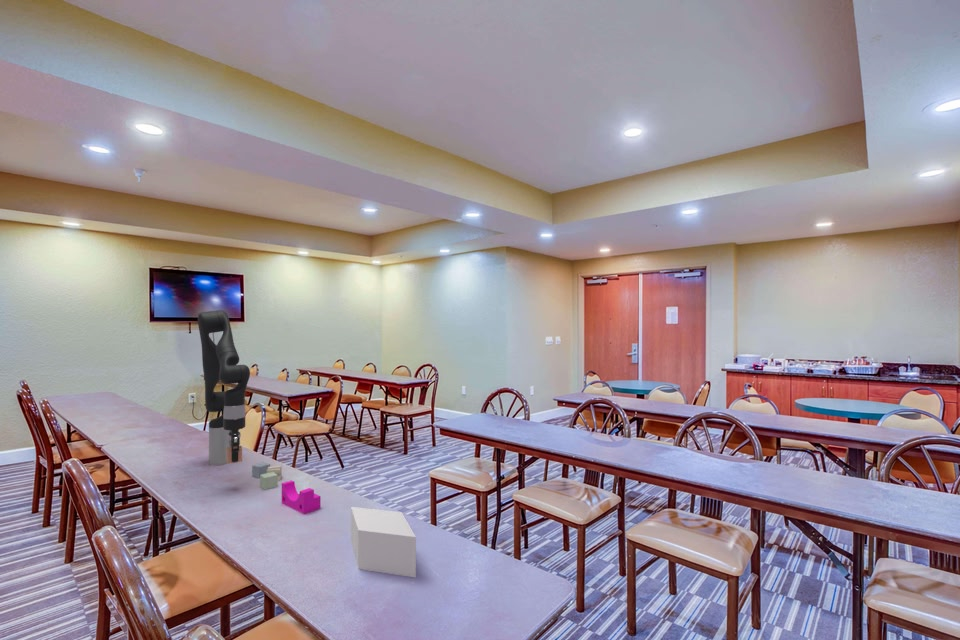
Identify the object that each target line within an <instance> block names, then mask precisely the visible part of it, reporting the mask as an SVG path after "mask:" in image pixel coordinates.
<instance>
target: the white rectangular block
mask: <svg viewBox="0 0 960 640" xmlns="http://www.w3.org/2000/svg"><path fill="white" fill-rule="evenodd" d="M350 543H351V547H352V550H353V554H354V557H355V561H356V562H355V563H356V566H357V569H358V570H363V571H364V570H365V571H371V572H376V573H381V574H382V573H384V574H390V575H396V576H402V577H403V576H404V577H410V578H417V536H416V535H415V532H413V530H412V528H411V526H410V524H409V523H408V521H407V519H406V518H405V516H404V514H403V512H401V511H394V510H382V509H377V508H375V509H373V508H365V507H355V506H351V507H350Z"/></svg>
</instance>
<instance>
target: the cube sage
mask: <svg viewBox="0 0 960 640" xmlns="http://www.w3.org/2000/svg"><path fill="white" fill-rule="evenodd" d="M278 482H279V481H278V475H277V474H275V473H274V472H271V473H266V474H262V475H260V478H259V487H260V488H261V489H262V490H263V491H266V490H271V489H274V488H275V489H276V488H278V486H279V485H278Z"/></svg>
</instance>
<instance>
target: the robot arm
mask: <svg viewBox="0 0 960 640" xmlns="http://www.w3.org/2000/svg"><path fill="white" fill-rule="evenodd" d="M229 318H230V317H229V315H228V313H227V311H225V310H223V309H222V310H210V311H209V310H208V311H203V312H199V314H198V315H197V324H198V331H199V337H200V343H201V355H202V356H201V358H202V359H201V361H202V369H203V370H202V371H203V378H204V403H205V410H206V411H207V412H208V413H209V412H210V413H218V412H219V413H220V412H223V414H222V415H220V416H218V417H216V418H213V419H211V420H209V422H208V465H209V466H212V467H215V466H216V467H217V466H224V465H228V464H227V447H231V453H232V462H236V463H238V462H237V461H238V452H239V446H241V431H239V430H242V429H245V428H246V404H245V403H246V402H245V401H246V399H245V398H246V390H247V388H248V387H247V386H248V382H249V379H250V376H251V371H250V368H249V366H247V365H246V364H239V362H240V356H239V353H238V350H237V349H236V347H235V342H234V338H233V337H234V336H233V331H232V327H231V322H230V319H229ZM221 332H222V335H221V337H220V339H219V340H218V342H217V344H216V343H215V342H214V341H213V340H212V339H211V337H210V334H214V333H221ZM219 382H221V383H223V384H225V385H229V384H237V385H236V386H235V387H233V388H230V389H228V390H226V391H214V390H215V388H216V386H217V385H218V383H219ZM235 446H237V448H235V449H233V447H235Z"/></svg>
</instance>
